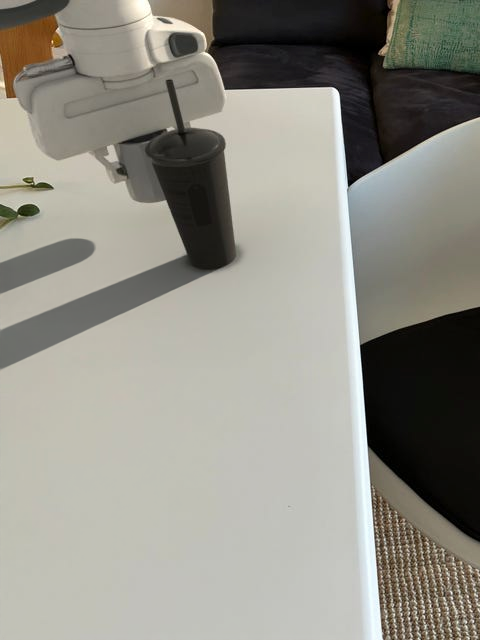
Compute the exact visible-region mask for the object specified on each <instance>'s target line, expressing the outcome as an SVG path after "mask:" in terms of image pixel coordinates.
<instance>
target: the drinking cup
mask: <svg viewBox="0 0 480 640" xmlns="http://www.w3.org/2000/svg"><path fill="white" fill-rule="evenodd" d="M165 82H166V86H167V90H168V94H169V98H170V101H171V105H172V109H173V113H174V117H175V121H176V125H177V129H175V128H173V129H171V130H167V131H168V132H166V133H164V134H162V135H159V136H157V137H155V138H154V139H152V140H151V141H149V142H148V143H147V145H146V147H145V155H146V157H147V158H148V160H149V161H151V163H152V165H153V168H154V170H155V173H156V176H157V178H158V181H159V183H160V186H161V188H162V191H163V194H164V196H165V199H166V200H165V202H166V204H167V206H168V209H169V211H170V214H171V216H172V219H173V221H174V225H175V227H176V230H177V232H178V235H179V237H180V240H181V242H182V245H183V247H184V251H185V252H186V255H187V257H188V260H189V263H190V265H191V266H192V267H194V268H196V269H199V270H204V271H209V270H210V271H211V270H217V269H222V268H224V267H226V266H228V265H230V264H232V263H233V262H234V261H235V259H236V257H237V250H236V242H235V241H236V240H235V233H234V224H233V217H232V216H233V215H232V208H231V207H232V206H231V198H230V191H229V190H230V189H229V182H228V174H227V165H226V155H225V150H226V147H227V142H226V139H225V137H224V135H222V134H221V133H220V132H217V131H215V130H212V129H207V128H200V127H191V128H185V127H184V123H183V119H182V115H181V111H180V107H179V103H178V99H177V95H176V91H175V87H174V83H173V80H172V79H168V80H166V81H165Z"/></svg>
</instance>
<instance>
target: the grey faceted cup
mask: <svg viewBox="0 0 480 640" xmlns="http://www.w3.org/2000/svg"><path fill="white" fill-rule="evenodd" d="M168 131H169V130H168V128H166V129H163V130H160V131H156V132H153V133H150V134H146V135H143V136H140V137H136V138H133V139H130V140H126V141H123V142H120V143H116V144H113V145H112V147H113V151H114V153H115V155H116V159H117V161H118V162H119V163H120V164H122V165H123V166H124V168H125V171H126V172H125V174H126V175H127V178H128V180H125V181H124V184H125V187H126V189H127V192H128V195H129V197H130V199H131V200H132V201H135V202H137V203H141V204H155V203H161V202H166V199H165V196H164V194H163V191H162V188H161V186H160V183H159V181H158V178H157V176H156V173H155V170H154V168H153V165H152V163H151V161H149V160H148V158H147V157H146V155H145V147H146V145H147V143H148V142H149V141H151V140H152V139H154V138H155V137H157V136H159V135H162V134H164V133H166V132H168Z"/></svg>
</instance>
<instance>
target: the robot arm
mask: <svg viewBox="0 0 480 640" xmlns="http://www.w3.org/2000/svg"><path fill="white" fill-rule="evenodd" d="M51 16H55V19H56V23H57V25H58V29H59V32H60V35H61V38H62V41H63V44H64V46H65V50H66V53H67V55H63V56H59V57H55V58H51V59H49V60H46V61H43V62H39V63H36V62H35V63H30V64H26V65H25V66H23V67H22V70H21V71H20V72H18V73H17V74H16V76H15V78H14V80H13V82H12V87H13V92H14V94H15V96H16V99H17V102H18V105H19V106H20V107H21V108H22V109H23V110H24V111H26V113H27V119H28V122H29V126H30V130H31V133H32V136H33V139H34V142H35V145H36V146H37V148H38V150H39V151H41V152H42V153H43V155H46V156H47V157H49V158H50V159H52V160H54V161H63V160H66V159H70V158H73V157H77V156H80V155H84V154H86V153H88V154H90V156H92V158H94V159H95V160H96V161H98V162H99V163H100V164H101V165H103V167H104V168H105V172H106V174H107V177H108V179H109V181H110V182H112V183H113V184H114V185H115V184H119V183H122V182H125V180H128V178H127V175H126V174H125V172H126V171H125V168H124V166H123V165H122V164H120V163H119V162H118V160H115V161H112V162H110V161H109V160H108V159H107V158H106V157H107V156H109V155H110V153H109V150H108V147H110V146H113V144H116V143H120V142H123V141H126V140H130V139H133V138H136V137H140V136H143V135H146V134H150V133H153V132H156V131H160V130H163V129H169V128H173V129H177V125H176V121H175V117H174V113H173V109H172V105H171V101H170V98H169V94H168V90H167V86H166V82H165V81H166V80H168V79H172V80H173V83H174V87H175V91H176V95H177V99H178V103H179V107H180V111H181V115H182V119H183V123H184V127H185V128H192V126H191V122H193V121H196V120H199V119H200V120H201V119H203V118H206V117H209V116H214V115H217V114H219V113H222V112H223V111H224V109H225V107H226V104H227V102H228V101H227V100H228V99H227V94H226V90H225V86H224V82H223V79H222V76H221V73H220V70H219V68H218V64H217V63H216V61H215V59H214V58H213V57H212V56H211V54H209V53H207V52H206V50H207V48H208V45H207V38H206V35H205V33H204V32H203V31H201V30H200V29H198V28H196V27H195V26H193V25H191V24H190V23H187V22H186V21H183V20H180V19H177V18H176V17H175V18H174V17H170V16H169V17H168V16H161V15H159V16H158V15H154V14H153V11H152V8H151V5H150V3H149V0H0V31H5V30H9V29H14V28H17V27H21V26H24V25H28V24H31V23H34V22H37V21H38V22H39V21H40V20H44V19H46V18H49V17H51ZM25 76H26V77H25Z"/></svg>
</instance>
